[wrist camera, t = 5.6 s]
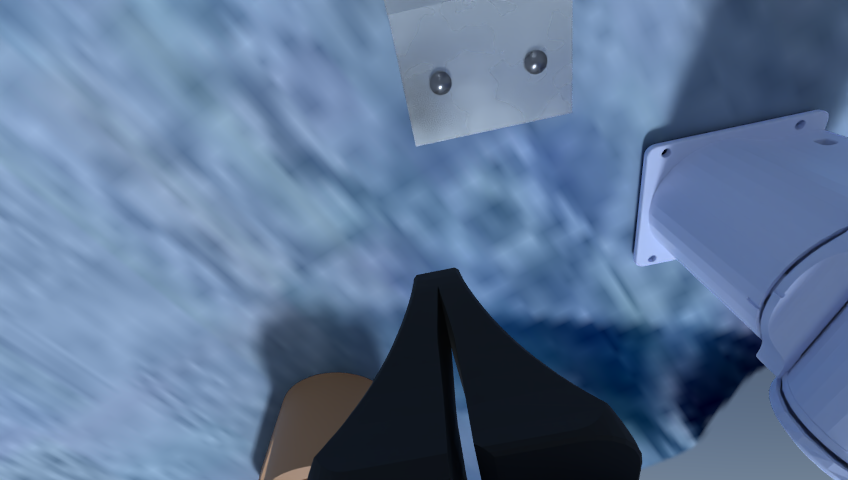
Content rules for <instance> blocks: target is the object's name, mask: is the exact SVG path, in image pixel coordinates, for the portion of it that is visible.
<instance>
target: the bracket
mask: <svg viewBox="0 0 848 480" xmlns="http://www.w3.org/2000/svg"><path fill="white" fill-rule="evenodd" d="M372 382H373V381H372V380H370V379H368V378H365V377H362V376H359V375H354V374H349V373H324V374H318V375H314V376H311V377H308V378H306V379H304V380H302V381H300V382H298V383H297V384H295V385H294V386H293V387H292V388H291V389H290V390H289V391H288V392H287V394H286V395H285V397H284V400H283V403H282V406H281V409H280V412H279V415H278V419H277V422H276V425H275V428H274V431H273V434H272V437H271V441H270V444H269V447H268V450H267V453H266V456H265V459H264V462H263V466H262V469H261V473H260V476H259V480H307V478H308V474H309V471H310V468H311V465H312V462H313V459H314V457H315V456H316V454H317V453H318V452H319V451H320V450H321V449H322V448H323V447H324V445H325V444H326V443H327V442H328V441H329V440H330V439H331V437H332V436H333V435H334V434H335V433H336V432H337V431H338V429H339V428H340V427H341V426H342V425H343V423H344V422H345V421H346V419H347V418H348V417H349V415H350V414H351V413H352V411H353V410H354V409H355V407H356V406H357V405H358V403H359V402H360V401H361V399H362V398H363V396H364V395H365V393H366V392H367V390H368V389H369V387H370V386H371V384H372Z"/></svg>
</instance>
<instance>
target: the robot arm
mask: <svg viewBox="0 0 848 480" xmlns="http://www.w3.org/2000/svg"><path fill="white" fill-rule="evenodd" d="M828 119H829V114H828V112H826V111H824V110H813V111H808V112H803V113H799V114H794V115H789V116H784V117H780V118H775V119H770V120H766V121H761V122H756V123H751V124H747V125H742V126H737V127H733V128H728V129H723V130H718V131H714V132H709V133H704V134H700V135H695V136H690V137H685V138H681V139H676V140H671V141H667V142H662V143H657V144H653V145H651V146H650V147H648V148H647V150H646V151H645V154H644V162H643V171H642V181H641V190H640V200H639V209H638V219H637V229H636V238H635V248H634V257H633V260H634V262H635V263H636V264H637V265H638V266H647V265H652V264H657V263H662V262H667V261H672V260H678V261H679V262H680V263H681V264H682V265H683V266H684V267H685V268H686V269H688V270H689V271H690V272H691V273H692V274H693V275H694V276H695V277H696V278H697V279H698V280H699V281H700V282H701V283H702V284H703V285H704V286H705V287H707V288H708V289H709V290H710V291H711V292H712V293H713V294H714V295H715V296H716V297H717V298H718V299H719V300H720V301H721V302H722V303H723V304H725V305H726V306H727V307H728V308H729V309H730V310H731V311H732V312H733V313H734V314H735V315H736V316H737V317H738V318H739V319H740V320H741V321H742V322H744V323H745V324H746V325H747V326H748V327H749V328H750V329H751V330H752V331H753V332H754V333H755V334H756V335H757V336H758V337H759V338H760V339H762V340H763V341H762V346H761V348H760V350H759V351H758V353H757V355H756V357H757V358H758V359H759V360H760V361H761V362H762V363H763V364H764V365H765V366H766V367H767V368H768V369H769V370H770V371H771V372H772V373H773V374H774V375H775V376H776V378H775V379H774V380H773V381H772V383H771V386H770V389H769V399H770V403H771V406H772V409H773V411H774V413H775V415H776V417H777V419H778V420H779V422H780V423H781V425H782V426H783V428H784V429H785V431H786V432H787V433H788V434H789V436H790V437H791V439H792V440H793V441H794V442H795V444H796V445H797V446H798V447H799V448H800V449H801V450H802V452H803V453H804V454H805V455H806V456H807V457H808V458H809V459H810V460H811V461H813V462H814V463H815V464H816V465H817V466H818V467H819V468H820V469H821V470H823V471H824V472H825V473H826V474H828V475H829V476H830V477H831V478H833V479H834V480H848V137H845V136H842V135H839V134H836V133H833V132H830V131H827V130H825V128H826V125H827V122H828ZM798 122H799V123H798ZM797 123H798V124H797ZM796 124H797V125H796ZM795 125H796V126H795ZM665 149H667V152H666V153H665V154H663V155H662V152H663V151H664V150H665ZM652 255H653V256H652ZM650 256H652V257H651V258H649V257H650ZM648 258H649V259H648ZM451 348H452V351H453V355H454V358H455V362H456V365H457V369H458V372H459V376H460V379H461V383H462V386H463V390H464V393H465V397H466V403H467V408H468V414H469V419H470V425H471V431H472V437H473V442H474V447H475V452H476V456H477V461H478V466H479V470H480V475H481V480H639V476H640V471H641V465H642V453H641V451H640V450H639V448H638V445H637V443H636V442H635V440H634V438H633V437H632V435H631V434H630V432H629V431H628V429H627V428H626V427H625V425H624V424H623V422H622V421H621V420H620V418H619V417H618V416H617V415H616V413H615V412H614V411H613V410H612V408H611V407H610V406H609V405H608V404H607V403H605V402H604V401H602V400H600V399H598V398H596V397H595V396H593V395H591V394H589V393H587V392H586V391H584V390H582V389H581V388H579V387H577V386H576V385H574V384H572V383H571V382H569V381H568V380H566V379H565V378H563V377H562V376H560V375H559V374H557V373H556V372H554V371H553V370H552V369H550V368H549V367H548V366H546V365H545V364H543V363H542V362H541V361H539V360H538V359H537V358H535V357H534V356H533V355H531V354H530V353H529V352H528V351H527V350H525V349H524V348H523V347H522V346H521V345H519V344H518V343H517V342H516V341H515V340H514V339H513V338H512V337H511V336H510V335H508V334H507V333H506V332H505V331H504V330H503V329H502V328H501V327H500V326H499V325H498V323H497V322H496V321H495V320H494V319H493V318H492V317H491V316H490V315H489V314H488V312H487V311H486V310H485V309H484V308H483V306H482V305H481V304H480V303H479V301H478V300H477V299H476V298H475V296H474V295H473V294H472V292H471V291H470V289H469V288H468V286H467V285H466V283H465V282H464V280H463V278H462V276H461V274H460V272H459V270H458V269H456V268H450V269H445V270H440V271H435V272H430V273H425V274H420V275H417V276H416V277H415V278H414V284H413V289H412V293H411V297H410V300H409V304H408V307H407V310H406V313H405V316H404V319H403V322H402V324H401V327H400V329H399V332H398V334H397V336H396V339H395V341H394V343H393V346H392V348H391V350H390V352H389V354H388V356H387V358H386V360H385V362H384V363H383V365H382V367H381V369H380V371H379V372H378V374H377V376H376V377H375V379H374V381H373V382H372V384H371V386H370V387H369V389H368V390H367V392H366V393H365V395H364V396H363V398H362V399H361V401H360V402H359V403H358V405H357V406H356V407H355V409H354V410H353V411H352V413H351V414H350V415H349V417H348V418H347V419H346V421H345V422H344V423H343V425H342V426H341V427H340V428H339V429H338V431H337V432H336V433H335V434H334V435H333V436H332V437H331V439H330V440H329V441H328V442H327V443H326V444H325V445H324V447H323V448H322V449H321V450H320V451H319V452H318V453H317V454H316V456H315V457H314V459H313V462H312V465H311V468H310V471H309V474H308V478H307V480H467V477H466V471H465V465H464V459H463V453H462V447H461V441H460V435H459V429H458V423H457V414H456V403H455V390H454V376H453V363H452V351H451Z"/></svg>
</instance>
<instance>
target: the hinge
mask: <svg viewBox="0 0 848 480" xmlns="http://www.w3.org/2000/svg"><path fill="white" fill-rule="evenodd" d="M384 3H385V7H386V12H387V15H388V17H389V22H390V27H391V31H392V36H393V41H394V45H395V50H396V55H397V59H398V64H399V69H400V74H401V78H402V83H403V88H404V92H405V97H406V102H407V106H408V111H409V116H410V120H411V125H412V130H413V135H414V139H415V144H416V146H421V145H425V144H430V143H434V142H439V141H444V140H448V139H453V138H457V137H462V136H467V135H471V134H476V133H481V132H485V131H490V130H494V129H499V128H504V127H508V126H513V125H518V124H522V123H527V122H531V121H536V120H541V119H545V118H550V117H554V116H559V115H564V114H568V113H572V0H384Z"/></svg>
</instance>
